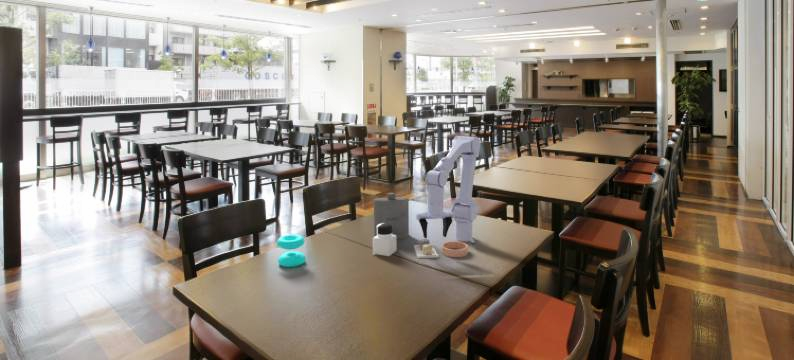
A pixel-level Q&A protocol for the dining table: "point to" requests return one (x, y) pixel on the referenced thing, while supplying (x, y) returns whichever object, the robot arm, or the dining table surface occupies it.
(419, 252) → the parts tray
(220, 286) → the dining table surface
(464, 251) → the terracotta bowl
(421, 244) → the grey rounded short piece
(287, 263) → the donuts
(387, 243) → the medicine bottle
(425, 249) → the sandstone pebble
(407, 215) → the flask
